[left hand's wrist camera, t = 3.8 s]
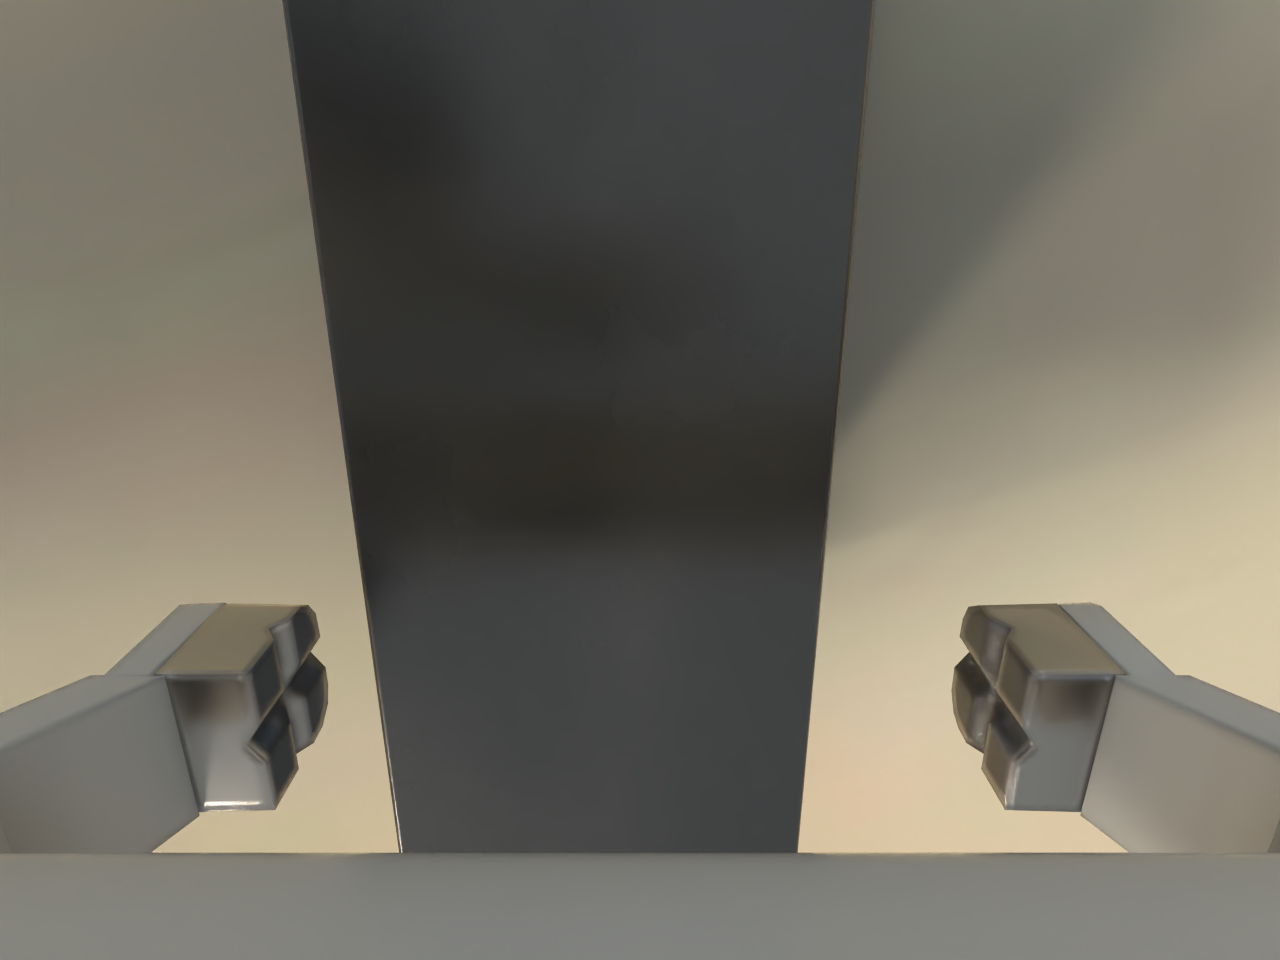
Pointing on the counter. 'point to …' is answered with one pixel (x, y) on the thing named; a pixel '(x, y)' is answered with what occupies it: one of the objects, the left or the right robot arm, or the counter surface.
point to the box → (588, 398)
